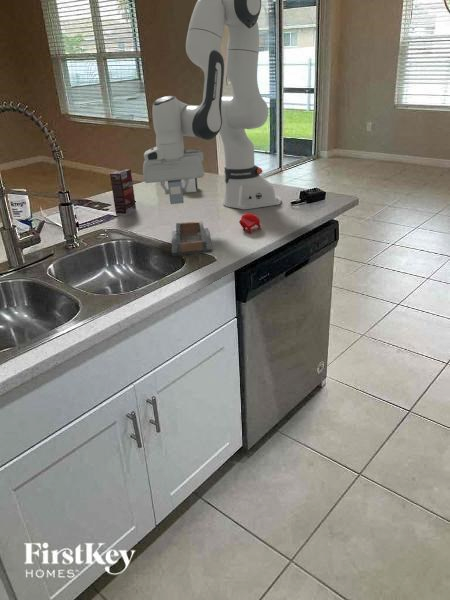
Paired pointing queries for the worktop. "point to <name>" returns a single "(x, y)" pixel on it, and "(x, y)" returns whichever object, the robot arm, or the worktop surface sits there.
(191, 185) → the medicine bottle
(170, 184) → the block
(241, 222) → the red toy chair
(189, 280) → the worktop surface
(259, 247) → the worktop surface
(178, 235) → the grey tray
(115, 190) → the supplement box
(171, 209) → the worktop surface
